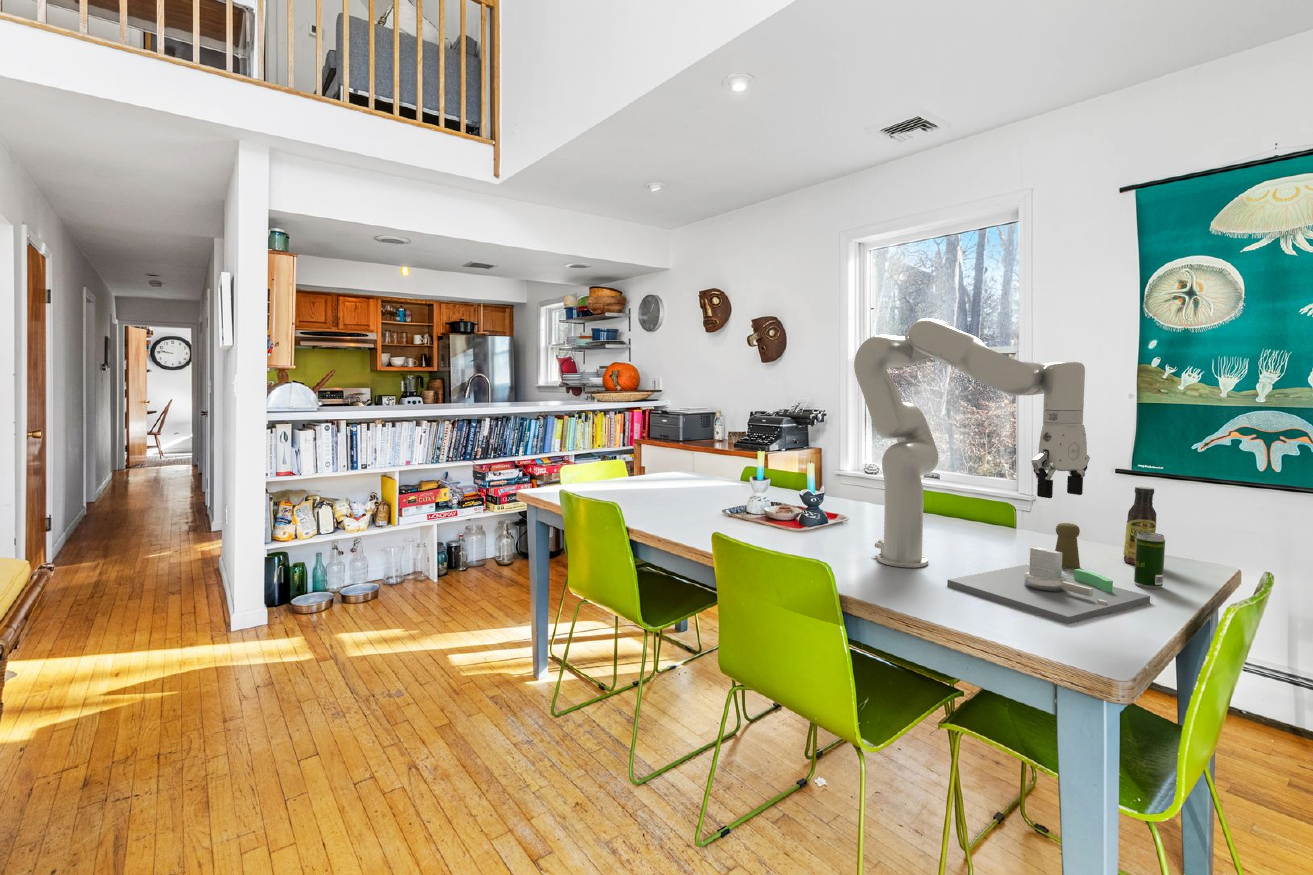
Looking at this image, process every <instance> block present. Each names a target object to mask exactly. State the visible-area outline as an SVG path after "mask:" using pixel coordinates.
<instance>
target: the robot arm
mask: <svg viewBox="0 0 1313 875" xmlns="http://www.w3.org/2000/svg"><path fill="white" fill-rule="evenodd" d="M930 359H935V360H936V361H940V362H941V363H944V364H946V365H948V366H951V367H952V368H954V369H957V370H959V371H960V372H962V374H965V375H967V376H969V377H971V378H972V379H973V380H976V381H978V382H980V383H982V384H984V385H986V386H989V387H991V388H993V389H996V390H997V391H1000V392H1002V393H1005V394H1007V395H1010V396H1015V397H1016V396H1034V395H1035V396H1037V395H1043V411H1042V412H1043V414H1042V427H1041V431H1040V437H1039V444H1038V455H1036V456H1035V457H1034V458H1032V459H1031V465H1032V468H1033V473H1034V474H1035V478H1036V479H1037V484H1036V485H1037V492H1036V496H1037V497H1039V498H1046V499H1052V498H1053V494H1054V493H1053V492H1054V491H1053V490H1054V480H1053V479H1052V477H1053V476H1054V474H1055V472H1056V471H1058V472H1068V473H1069V475H1067V482H1066V483H1067V485H1066V492H1067V494H1070V495H1076V496H1082V495H1083V493H1084V489H1083V488H1084V477H1085V476H1086V471H1087V469H1088V465H1089V462H1090V460H1091V459H1090V458H1091V457H1090V456H1089V455H1088V447H1087V434H1086V427H1085V425H1084V405H1085V404H1084V403H1085V382H1086V381H1085V380H1086V379H1085V378H1086V368H1085V365H1084V364H1083V363H1082V362H1078V361H1060V362H1059V361H1058V362H1057V361H1055V362H1049V363H1040V362H1030V361H1020V360H1017V359H1015V358H1012V357H1010V356H1008V355H1004V354H1003V353H1000V352H998V351H996V350H994V349H991V348H990V347H988V346H987V345H985V344H984V343H983V341H982V340H981V338H979V337H977V336H975V335H972V334H970V333H967V332H965V331H961V330H959V329H957V328H955V327H954V326H953V325H952V324H950V323H949V322H947V321H944V320H940V319H935V318H922V319H919V320H917V321H915V322H914V323H913V324H912V325H911V326H910V328H909V330H908V332H907V333H906V334H904V335H900V336H898V335H889V334H879V335H873V336H871V337H869V338H867V339H866V340H864V341H863V343H861V345H860V346H859V348H858V349H857V351H856V354H855V357H854V363H853V366H854V367H853V368H854V373H855V377H856V378H855V379H857V380H856V381H857V382H858V385H859V387H860V391H861V392H862V395H863V398H864V400H865V405H866V408H867V411H868V413H869V416H870V419H871V421H872V424H873V427H874V429H875V432H876V433H877V435H878V436H879V437H882V438H883V439H887V440H888V439H889V440H890V439H891V440H892V439H893V440H895V439H896V443H894V444H891V445H890V446H889V447H888V448H887V449H886V450H885V452H884V453H883V455H882V459H881V466H882V467H881V468H882V475H883V480H884V481H883V484H884V510H883V512H884V513H883V514H884V516H883V517H884V519H883V520H884V521H883V539H879V540H877V542H875V543H874V547H875V548H876V549H880V553H878V554H877V555H876V559H877V561H878V562H880V563H881V564H883V565H887V566H891V567H897V568H905V569H906V568H909V569H912V568H921V567H922V568H923V567H926V566H928V565H929V559H928V558H927V557H926V556H925V555H923V537H924V534H923V531H924V530H923V528H924V526H923V525H924V487H923V482H922V478H921V477H922V476H926V475H928V474H930V473H932V472H933V471H934V470H935V469H936V468H937V466H938V463H939V451H938V448H937V445H936V442H935V440H934V437H933V434H932V432H931V430H930V427H929V424H928V421H927V419H926V416H925V414H924V412H922V410H921V409H920V408H919V407H918V405H916V404H913V403H910V402H903V401H902V399H901V397H900V393H899V392H898V389H897V386H896V384H895V382H894V380H893V378H892V377H891V375H890V374H889V372H888V368H889V369H902V368H906V367H909V366H912V365H916V364H918V363H922V362H924V361H926V360H930Z"/></svg>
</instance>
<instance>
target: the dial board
mask: <svg viewBox="0 0 1313 875" xmlns="http://www.w3.org/2000/svg"><path fill="white" fill-rule="evenodd" d="M1029 569H1030V564H1021V565H1017V566H1012V567H1011V566H1010V567H1007V568H1002V569H995V570H991V571H985V572H980V573H976V574H969V575H965V576H964V575H963V576H960V577H959V576H958V577H955V578H948V579H947V585H946V586H947V587H949V588H952V589H955V590H959V591H963V592H965V593H969V594H972V595H975V596H977V597H981V598H983V599H986V600H987V599H988V600H990V601H994V602H996V601H997V602H996V603H1000V604H1003V605H1006V606H1009V607H1013V608H1016V609H1018V610H1022V611H1025V612H1029V613H1032V614H1034V615H1038V616H1041V617H1045V618H1047V619H1050V620H1053V621H1056V622H1060V623H1062V624H1066V625H1071V624H1075V623H1079V622H1083V621H1086V620H1087V621H1088V620H1090V619H1094V618H1097V617H1102V616H1106V615H1110V614H1113V613H1116V612H1120V611H1124V610H1128V609H1133V608H1136V607H1140V606H1143V605H1147V604H1151V595H1148V594H1143V593H1140V592H1137V591H1132V590H1129V589H1124V588H1120V587H1116V586H1113V585H1114V583H1113V582H1114V581H1113V580H1111V579H1109V578H1108V577H1106V576H1105V575H1104V576H1103V575H1101V574H1098V573H1096V572H1093V571H1089V570H1086V569H1082V568H1079V569H1074V571H1073V572H1074V576H1073V575H1069V574H1065V573H1062V574H1061V576H1063V577H1065V578H1066V582H1069V583H1073V584H1077V585H1081V586H1085V587H1088V588H1092V589H1093V596H1091V597H1088V596H1085V595H1081V594H1077V593H1074V592H1070V591H1066V590H1063V591H1045V590H1039V589H1034V588H1031V587H1028V586H1026V585H1025V584H1024V574H1025V573H1027V572H1029Z"/></svg>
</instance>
